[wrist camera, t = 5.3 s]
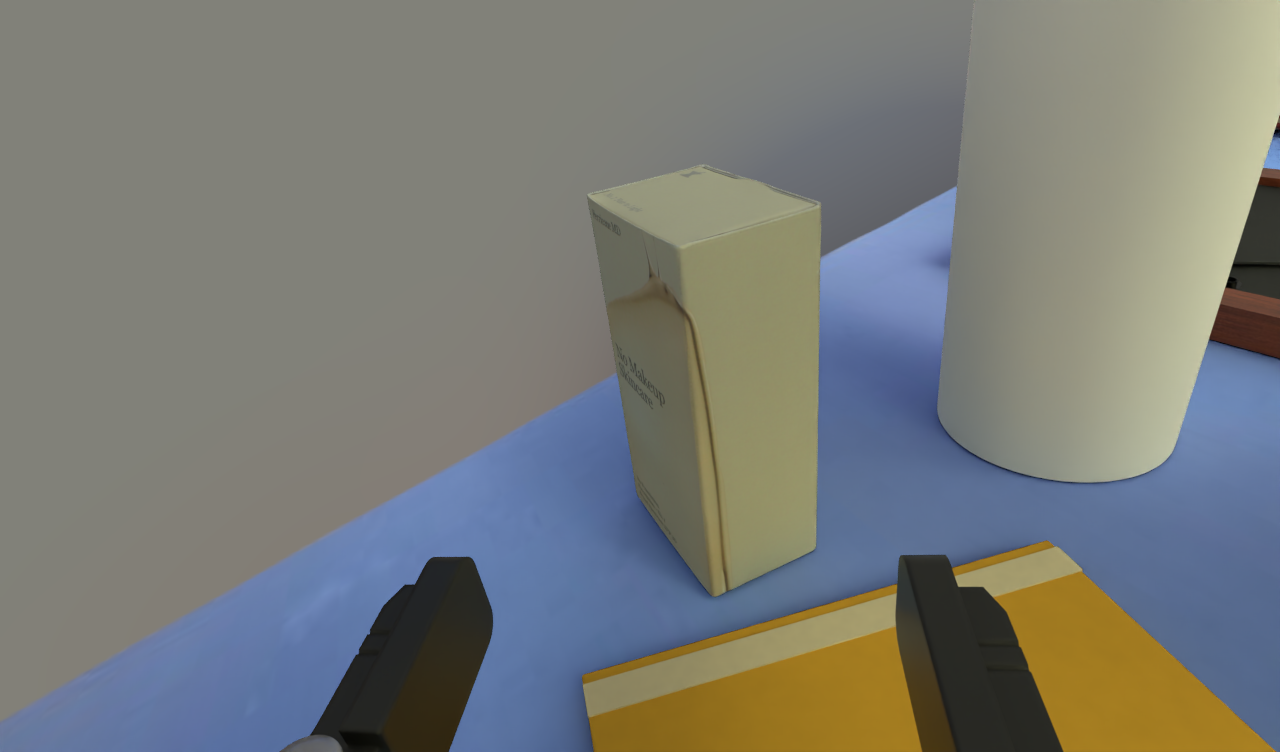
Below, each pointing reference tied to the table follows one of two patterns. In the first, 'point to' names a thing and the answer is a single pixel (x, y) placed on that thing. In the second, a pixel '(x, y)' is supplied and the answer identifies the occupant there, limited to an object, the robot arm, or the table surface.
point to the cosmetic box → (717, 362)
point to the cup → (1098, 222)
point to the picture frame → (1255, 277)
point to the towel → (876, 685)
